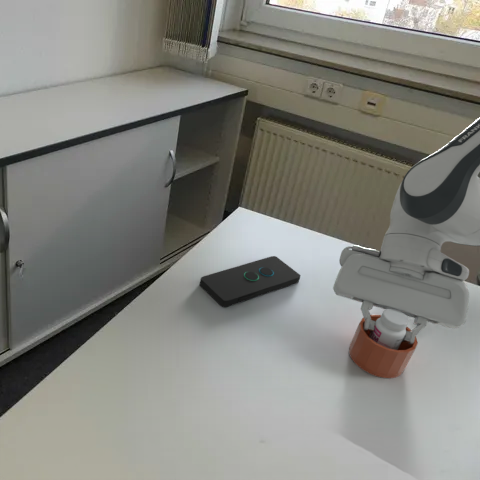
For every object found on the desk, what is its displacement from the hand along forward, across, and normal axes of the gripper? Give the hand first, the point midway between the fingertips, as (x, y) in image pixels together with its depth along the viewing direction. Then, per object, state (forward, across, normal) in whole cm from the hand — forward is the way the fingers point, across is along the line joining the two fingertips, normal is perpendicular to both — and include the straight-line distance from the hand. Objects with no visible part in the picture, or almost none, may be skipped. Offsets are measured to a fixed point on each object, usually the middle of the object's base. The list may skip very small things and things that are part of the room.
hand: (387, 336), depth 89 cm
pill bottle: (+3, 0, +4) cm, 5 cm away
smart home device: (-4, -24, +12) cm, 27 cm away
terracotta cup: (+4, 0, +4) cm, 6 cm away
